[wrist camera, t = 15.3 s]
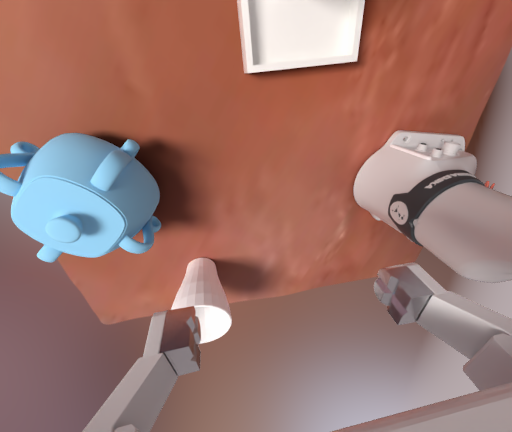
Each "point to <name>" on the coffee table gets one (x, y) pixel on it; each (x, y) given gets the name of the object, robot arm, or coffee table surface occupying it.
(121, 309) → the coffee table surface
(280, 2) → the tray
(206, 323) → the cup
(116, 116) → the coffee table surface
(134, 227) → the decorative pot
